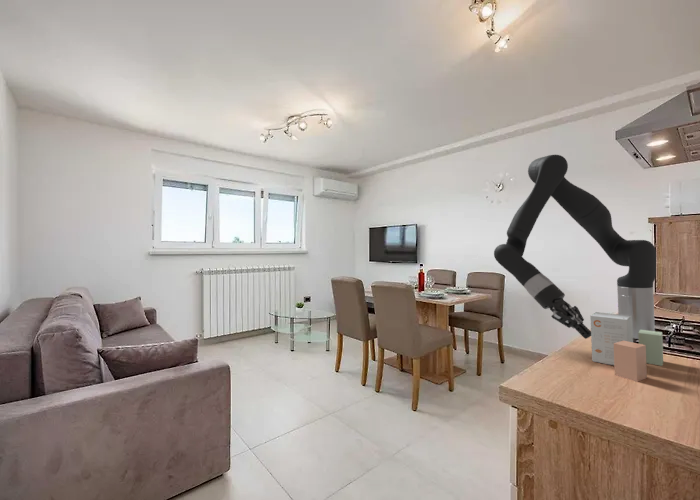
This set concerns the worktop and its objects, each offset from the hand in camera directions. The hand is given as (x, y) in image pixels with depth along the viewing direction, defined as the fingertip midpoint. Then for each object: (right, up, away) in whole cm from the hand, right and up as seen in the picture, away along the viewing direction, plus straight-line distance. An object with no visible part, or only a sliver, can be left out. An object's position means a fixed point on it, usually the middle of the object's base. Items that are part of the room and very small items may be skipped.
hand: (589, 336), depth 91 cm
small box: (+3, -6, -4) cm, 8 cm away
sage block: (+13, -5, -5) cm, 15 cm away
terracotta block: (0, -6, -14) cm, 15 cm away
